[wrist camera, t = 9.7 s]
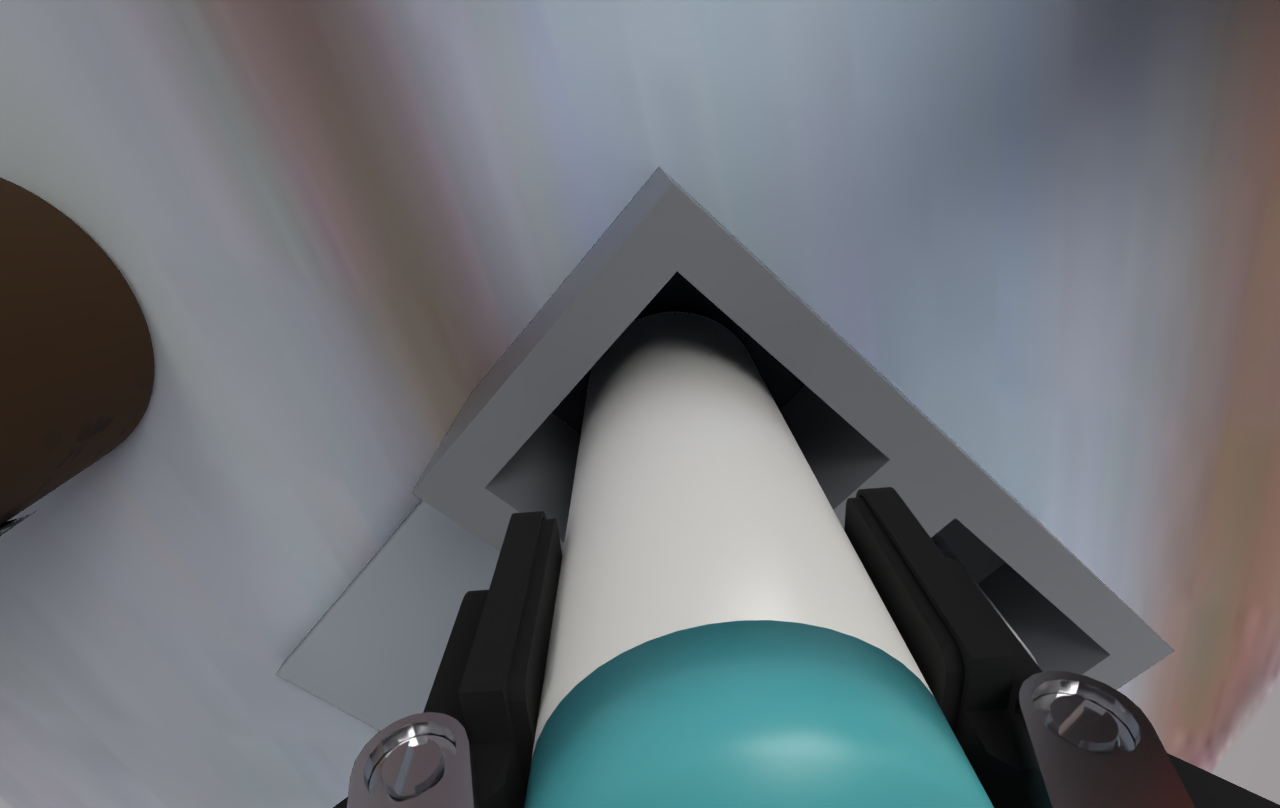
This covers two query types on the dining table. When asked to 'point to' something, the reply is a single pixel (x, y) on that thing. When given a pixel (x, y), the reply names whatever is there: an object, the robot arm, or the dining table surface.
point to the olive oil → (62, 352)
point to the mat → (393, 621)
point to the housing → (816, 415)
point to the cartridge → (721, 610)
